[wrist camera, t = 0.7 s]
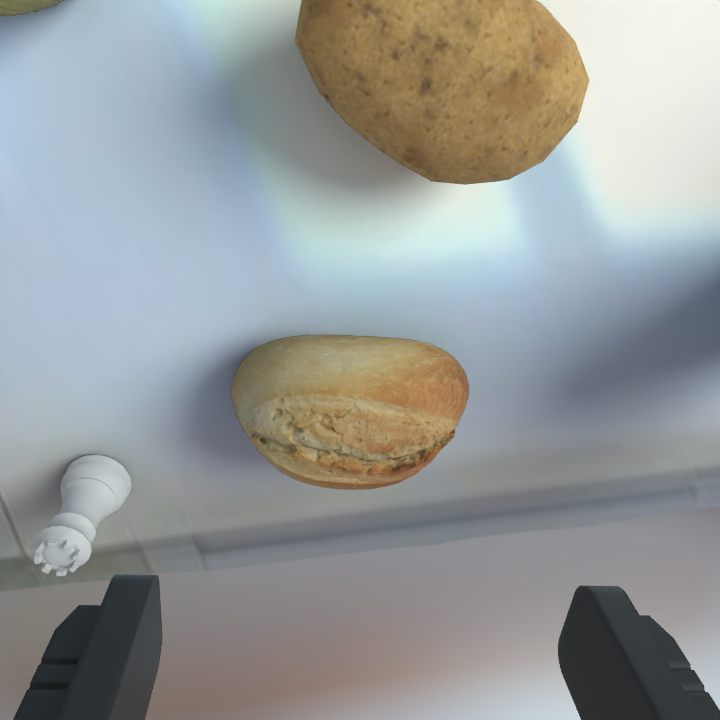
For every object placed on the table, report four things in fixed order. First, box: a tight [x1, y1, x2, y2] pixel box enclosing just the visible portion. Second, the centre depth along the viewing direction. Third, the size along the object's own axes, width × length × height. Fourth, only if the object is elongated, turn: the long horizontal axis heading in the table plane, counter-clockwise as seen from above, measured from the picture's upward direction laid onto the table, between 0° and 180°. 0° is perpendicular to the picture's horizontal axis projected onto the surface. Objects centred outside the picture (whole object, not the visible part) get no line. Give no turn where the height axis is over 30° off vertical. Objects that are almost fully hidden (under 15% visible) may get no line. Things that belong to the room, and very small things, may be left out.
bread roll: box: [231, 335, 469, 490], centre depth 37 cm, size 10×15×8 cm, turn 90°
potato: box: [295, 0, 589, 184], centre depth 29 cm, size 10×14×8 cm
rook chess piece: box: [33, 455, 132, 576], centre depth 38 cm, size 4×4×8 cm
